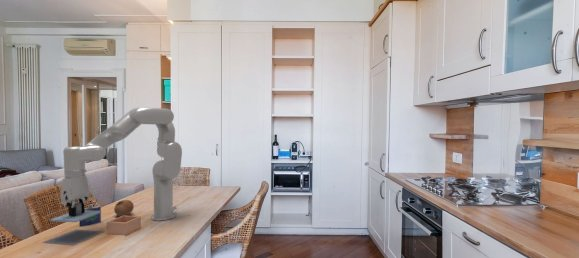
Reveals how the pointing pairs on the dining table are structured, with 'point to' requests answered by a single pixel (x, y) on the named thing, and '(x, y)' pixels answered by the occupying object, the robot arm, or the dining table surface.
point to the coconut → (123, 208)
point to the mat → (73, 237)
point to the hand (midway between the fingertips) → (76, 213)
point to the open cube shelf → (124, 225)
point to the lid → (78, 216)
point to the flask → (92, 219)
